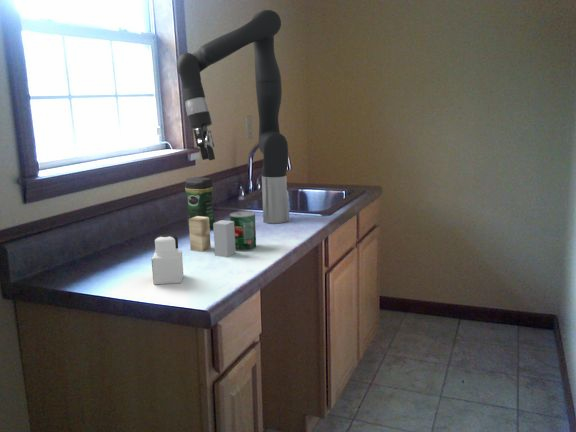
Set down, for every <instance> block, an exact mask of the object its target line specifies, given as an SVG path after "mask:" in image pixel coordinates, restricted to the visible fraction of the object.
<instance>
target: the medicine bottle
mask: <svg viewBox="0 0 576 432" xmlns="http://www.w3.org/2000/svg"><path fill="white" fill-rule="evenodd" d="M153 243H154V254H153V256H152V257H151V268H152V281H153V285H167V284H171V285H172V284H182V280H183V277H184V263H183V251H182V250H181V249H179V239H178V236H176V235H174V234H171V233H170V234H169V233H168V234H167V233H165V234H161V235H158V236H156V237H154V239H153Z"/></svg>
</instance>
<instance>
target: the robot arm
mask: <svg viewBox="0 0 576 432" xmlns="http://www.w3.org/2000/svg"><path fill="white" fill-rule="evenodd" d="M281 27H282V20H281V17H280V15H279V14H278V13H277V12H276V11H274V10H272V9H264V10H261V11H259V12H257V13H255V14H254V15H253V16H252V18H251V20H250V21H249V22H247V23H245V24H244V25H241V27H238V28H236V29H234V30H232V31H230V32H228V33H225V34H222V35H220V36H218V37H216V38H214V39H212V40H211V41H208V42H207V43H204V44H203V45H202V46H200V47H199V49H198V50H196V51H195V52H193V53H192V52H191V53H190V52H183V53H182V54H180V55H179V56H178V58H177V60H176V71H177V73H178V75H179V76H180V81H181V85H182V95H183V98H184V103H185V110H186V115H187V119H188V124H189V127H190V129H191V130H193V135H194V139H195V142H196V147H197V148H198V149H199V150H200V155H201V158H202V159H201V160H203V161H205V160H209V161H213V160H215V159H216V157H215V152H214V148H215V143H214V140H213V135H212V131H211V129H210V130H208V127H210V126H211V125H213V122H212V118H211V114H210V109H209V104H208V101H207V99H206V95H205V90H204V87H203V84H202V79H201V78H202V77H201V72H203V71H204V70H206V69H207V68H208V67H210V66H212V65H214V64H216V63H218V62H220V61H222V60H224V59H225V58H227V57H229V56H231V55H232V54H234V53H235V52H238V51H239V50H241V49H242V48H244V47H246V46H248V45H251V44H252V43H253V50H254V67H255V68H254V71H255V75H254V76H255V91H256V92H255V93H256V103H257V112H258V123H259V124H258V126H259V127H258V147H259V150H260V152H261V153H262V154H263V156H262V157H263V165H262V168H261V192H262V195H261V196H262V198H261V199H262V221H263V223H266V224H281V223H286V222H290V200H289V199H290V197H289V195H288V186H287V185H288V184H287V183H288V181H287V170H288V166H289V145H288V141H287V138H286V137H285V136H284V135H283V134H282V133H280V125H279V123H280V122H279V113H280V109H281V103H282V97H283V96H282V94H283V92H282V91H283V90H282V76H281V72H280V69H279V68H280V67H279V65H278V61H277V58H276V54H275V41H274V40H275V36H276V35H277V34H278V33H279V31H280V29H281Z"/></svg>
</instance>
